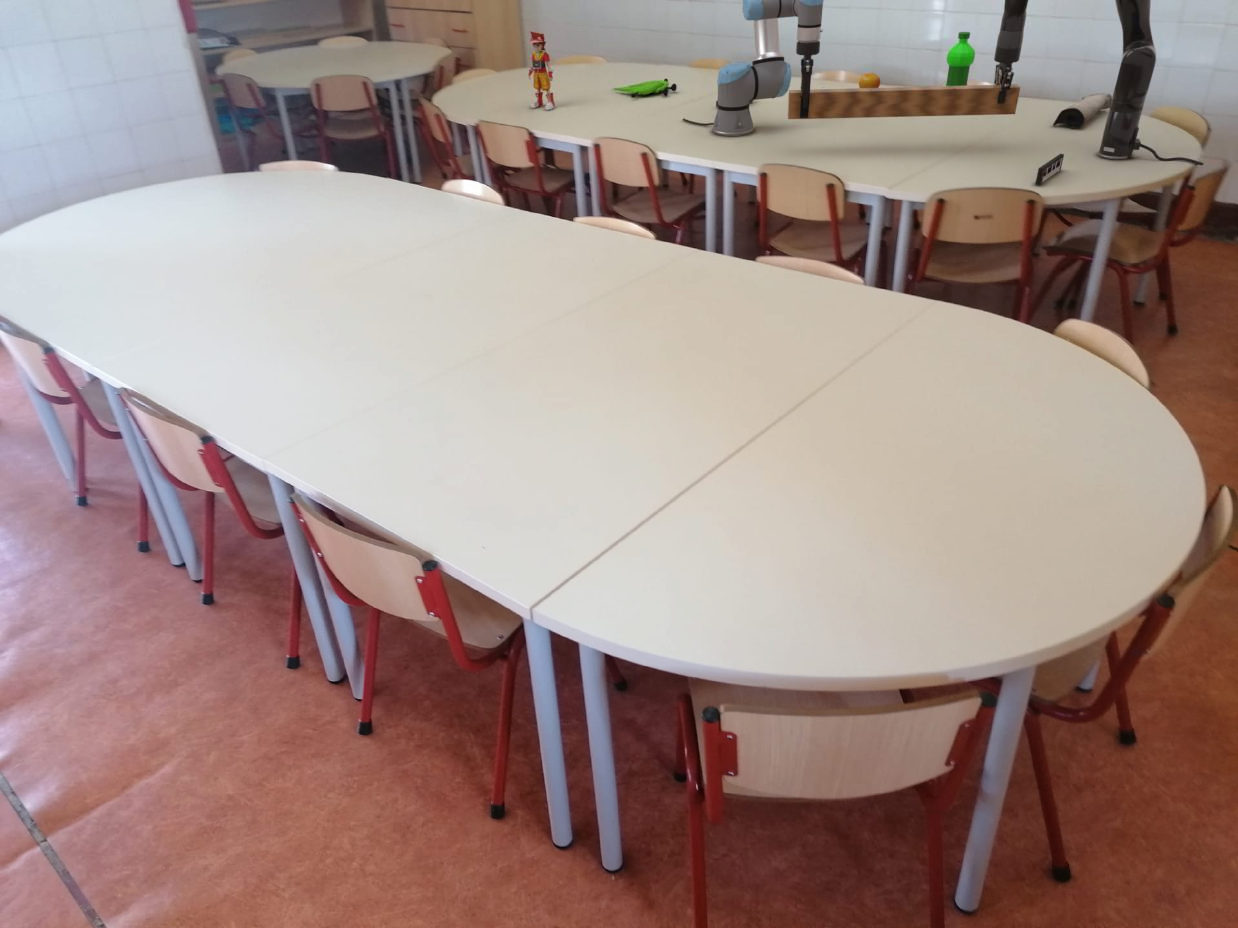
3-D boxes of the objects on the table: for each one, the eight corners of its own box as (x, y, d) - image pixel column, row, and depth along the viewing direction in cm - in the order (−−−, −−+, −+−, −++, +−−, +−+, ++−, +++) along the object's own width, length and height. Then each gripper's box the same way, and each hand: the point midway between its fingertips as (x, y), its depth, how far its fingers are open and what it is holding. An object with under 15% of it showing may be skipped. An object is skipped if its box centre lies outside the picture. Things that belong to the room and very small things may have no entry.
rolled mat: (1079, 98, 337) (1104, 81, 329) (1092, 118, 337) (1118, 102, 329) (1048, 120, 320) (1074, 102, 312) (1063, 141, 320) (1088, 124, 312)
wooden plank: (788, 119, 303) (789, 93, 299) (787, 116, 307) (788, 90, 302) (1015, 114, 294) (1020, 87, 290) (1012, 111, 298) (1017, 84, 293)
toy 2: (686, 85, 398) (631, 84, 414) (685, 72, 395) (629, 72, 411) (651, 104, 381) (596, 103, 397) (650, 92, 378) (594, 91, 394)
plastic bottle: (973, 101, 354) (984, 32, 339) (955, 106, 349) (966, 36, 335) (952, 97, 361) (962, 29, 346) (934, 102, 356) (944, 33, 342)
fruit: (854, 84, 373) (866, 66, 369) (856, 88, 380) (868, 70, 377) (870, 95, 371) (882, 77, 368) (872, 98, 379) (884, 81, 376)
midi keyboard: (1039, 185, 269) (1043, 168, 266) (1035, 184, 270) (1038, 168, 267) (1060, 170, 279) (1064, 154, 277) (1056, 169, 280) (1060, 153, 277)
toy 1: (525, 109, 381) (517, 32, 364) (534, 104, 388) (527, 28, 371) (550, 110, 377) (543, 32, 360) (559, 105, 384) (553, 28, 367)
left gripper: (821, 46, 283) (816, 122, 297) (818, 35, 297) (813, 108, 311) (797, 46, 284) (793, 122, 298) (796, 36, 298) (791, 109, 312)
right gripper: (1027, 49, 279) (1016, 106, 289) (1015, 40, 290) (1005, 96, 300) (1002, 50, 280) (992, 107, 289) (991, 41, 291) (982, 96, 301)
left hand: (803, 115), depth 304 cm, fingers closed on wooden plank, 4 cm apart
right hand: (999, 101), depth 295 cm, fingers closed on wooden plank, 4 cm apart
